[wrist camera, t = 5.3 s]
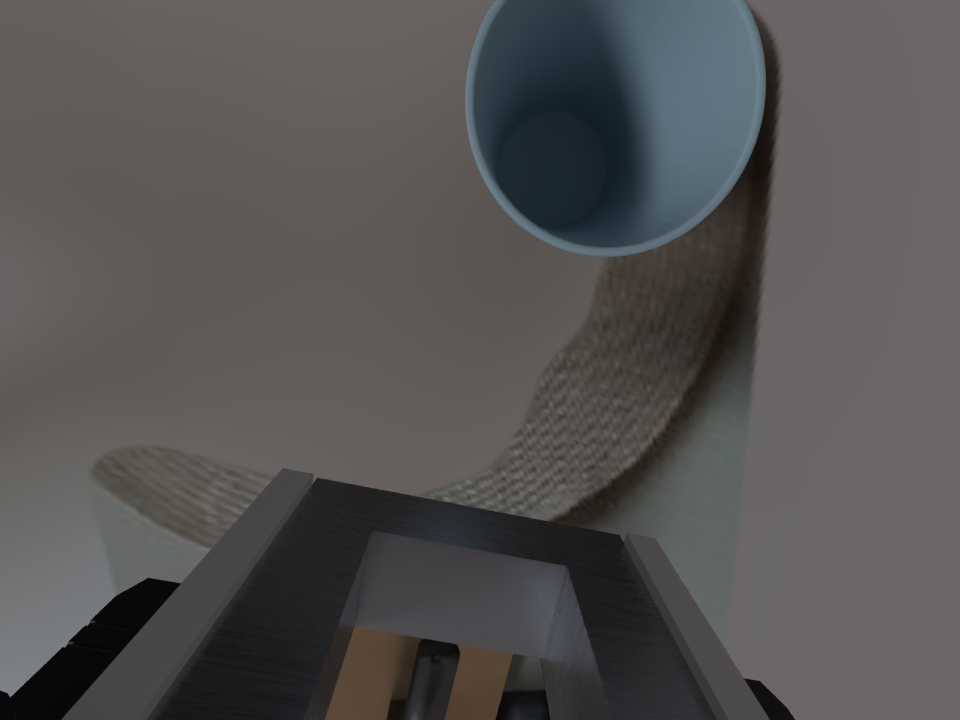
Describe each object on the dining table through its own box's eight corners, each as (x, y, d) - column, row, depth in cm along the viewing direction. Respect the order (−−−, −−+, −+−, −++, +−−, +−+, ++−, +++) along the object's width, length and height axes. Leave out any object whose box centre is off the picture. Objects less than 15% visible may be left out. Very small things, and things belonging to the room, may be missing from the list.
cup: (598, 51, 21) (717, -139, 11) (654, 216, 23) (803, 184, 12) (443, 124, 22) (417, 9, 11) (508, 280, 23) (536, 301, 13)
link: (317, 477, 12) (26, 886, 4) (619, 535, 12) (865, 999, 5) (303, 563, 13) (23, 1071, 5) (594, 615, 13) (779, 1157, 5)
